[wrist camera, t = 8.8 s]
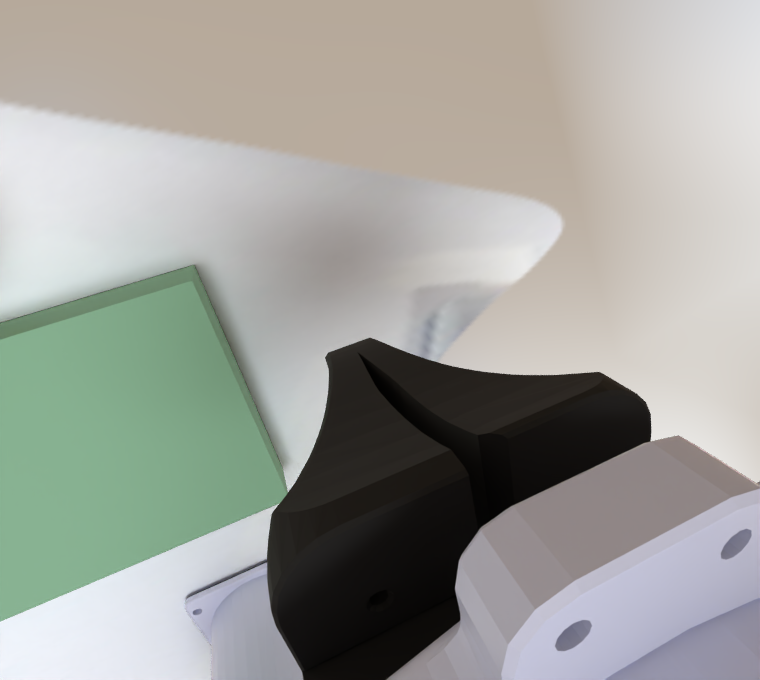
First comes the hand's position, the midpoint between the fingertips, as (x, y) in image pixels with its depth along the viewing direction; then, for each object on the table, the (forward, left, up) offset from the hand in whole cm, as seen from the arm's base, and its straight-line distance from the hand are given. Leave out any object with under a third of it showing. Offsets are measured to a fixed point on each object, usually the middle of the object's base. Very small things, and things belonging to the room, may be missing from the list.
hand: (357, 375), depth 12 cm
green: (-4, +14, -10) cm, 18 cm away
